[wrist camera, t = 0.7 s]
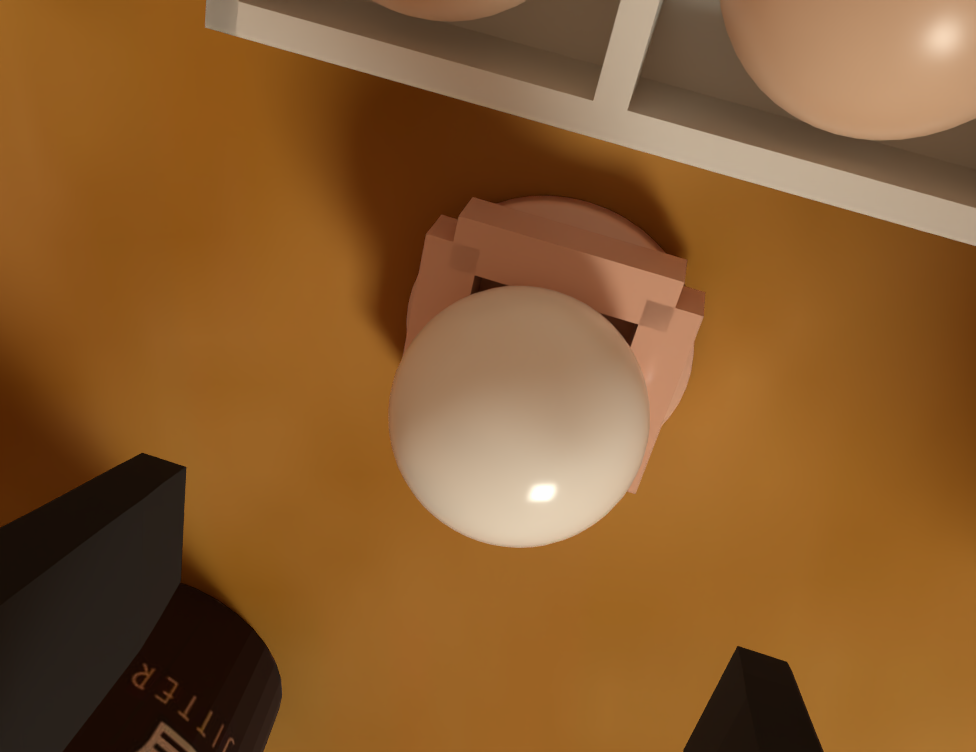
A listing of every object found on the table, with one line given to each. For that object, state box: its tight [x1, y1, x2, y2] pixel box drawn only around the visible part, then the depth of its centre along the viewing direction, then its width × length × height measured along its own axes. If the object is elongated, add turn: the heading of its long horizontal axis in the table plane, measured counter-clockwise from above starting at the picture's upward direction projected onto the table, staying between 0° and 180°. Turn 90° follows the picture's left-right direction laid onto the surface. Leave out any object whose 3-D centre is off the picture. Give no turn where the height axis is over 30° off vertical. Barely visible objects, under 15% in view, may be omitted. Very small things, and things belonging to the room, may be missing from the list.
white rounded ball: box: [388, 286, 650, 548], centre depth 16 cm, size 4×4×4 cm
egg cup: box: [402, 195, 705, 494], centre depth 18 cm, size 6×6×2 cm
